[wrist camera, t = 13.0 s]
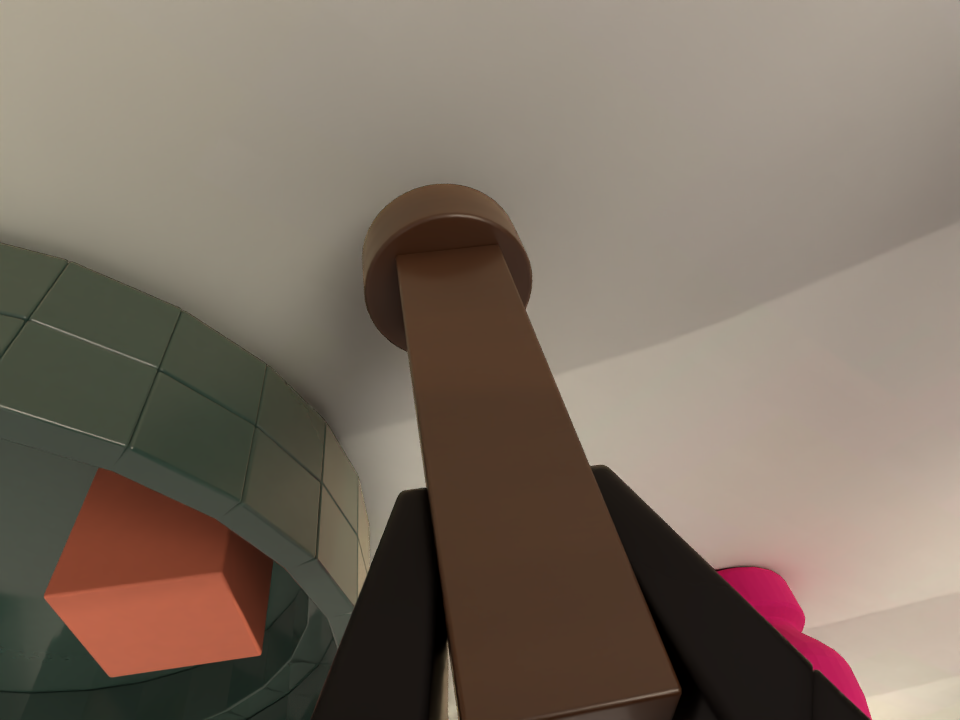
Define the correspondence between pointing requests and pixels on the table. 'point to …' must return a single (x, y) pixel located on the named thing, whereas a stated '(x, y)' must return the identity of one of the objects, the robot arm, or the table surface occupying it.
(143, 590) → the coral block
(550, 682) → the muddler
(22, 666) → the bowl
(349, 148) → the table surface
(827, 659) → the pepper mill
